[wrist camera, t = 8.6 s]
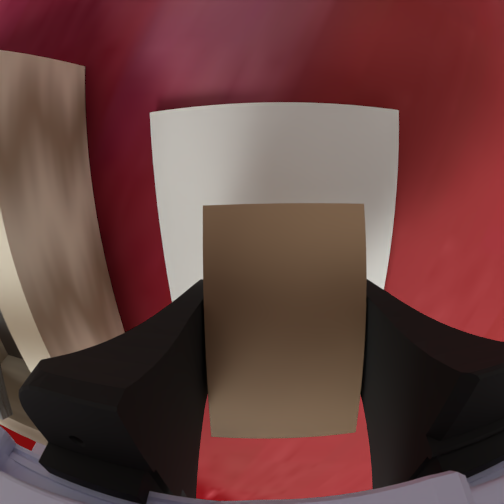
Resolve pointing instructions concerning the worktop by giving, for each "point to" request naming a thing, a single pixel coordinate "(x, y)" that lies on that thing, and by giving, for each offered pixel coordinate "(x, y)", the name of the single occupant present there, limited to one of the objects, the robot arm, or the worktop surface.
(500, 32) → the worktop surface
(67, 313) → the pocket board
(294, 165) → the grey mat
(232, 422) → the walnut bar
